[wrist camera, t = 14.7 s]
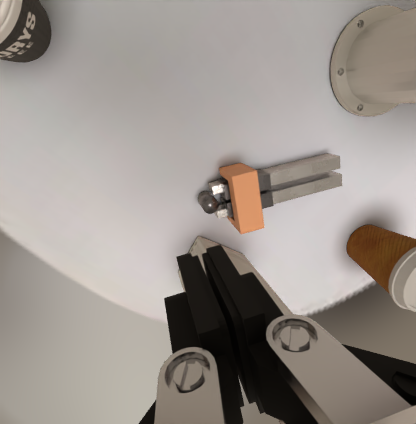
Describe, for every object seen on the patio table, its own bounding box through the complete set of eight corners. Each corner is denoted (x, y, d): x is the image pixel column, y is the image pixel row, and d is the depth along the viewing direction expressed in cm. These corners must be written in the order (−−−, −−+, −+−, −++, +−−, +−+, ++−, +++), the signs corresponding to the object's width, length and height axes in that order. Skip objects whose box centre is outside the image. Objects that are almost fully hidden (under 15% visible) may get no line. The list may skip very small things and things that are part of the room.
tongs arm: (213, 212, 39) (219, 220, 36) (211, 199, 39) (216, 206, 36) (329, 181, 42) (342, 186, 39) (328, 168, 41) (342, 173, 38)
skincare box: (176, 271, 41) (198, 357, 27) (198, 231, 40) (234, 299, 26) (225, 289, 44) (269, 376, 30) (248, 253, 43) (304, 324, 29)
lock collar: (227, 218, 40) (241, 234, 35) (219, 168, 37) (231, 176, 33) (248, 213, 41) (264, 227, 36) (241, 162, 38) (257, 170, 33)
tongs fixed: (199, 207, 39) (204, 215, 36) (194, 184, 38) (199, 191, 35) (327, 174, 42) (342, 179, 39) (326, 152, 41) (342, 155, 38)
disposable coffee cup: (342, 277, 49) (403, 326, 38) (332, 229, 45) (396, 268, 34) (391, 254, 50) (465, 296, 39) (386, 205, 46) (465, 235, 35)
